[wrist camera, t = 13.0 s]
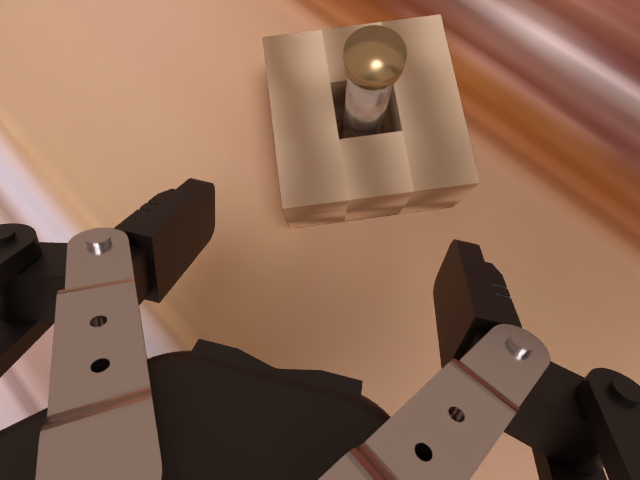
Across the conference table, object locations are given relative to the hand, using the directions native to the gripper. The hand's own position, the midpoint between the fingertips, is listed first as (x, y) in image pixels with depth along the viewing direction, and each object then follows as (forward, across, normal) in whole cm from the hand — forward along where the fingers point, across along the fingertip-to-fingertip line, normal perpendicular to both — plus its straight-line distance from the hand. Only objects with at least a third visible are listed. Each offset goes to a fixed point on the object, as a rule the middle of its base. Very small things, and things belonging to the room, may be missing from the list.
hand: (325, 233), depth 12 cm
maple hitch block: (+18, 0, +2) cm, 18 cm away
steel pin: (+18, 0, +3) cm, 18 cm away
